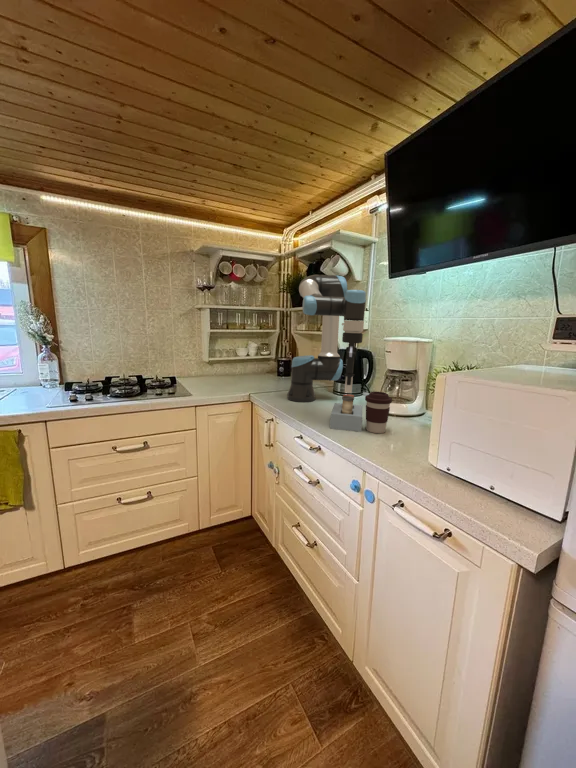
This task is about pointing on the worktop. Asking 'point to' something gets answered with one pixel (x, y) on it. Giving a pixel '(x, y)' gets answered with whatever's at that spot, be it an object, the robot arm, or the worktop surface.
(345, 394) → the plunger red
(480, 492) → the worktop surface
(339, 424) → the plunger block
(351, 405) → the beige cylinder
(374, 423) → the coffee cup
